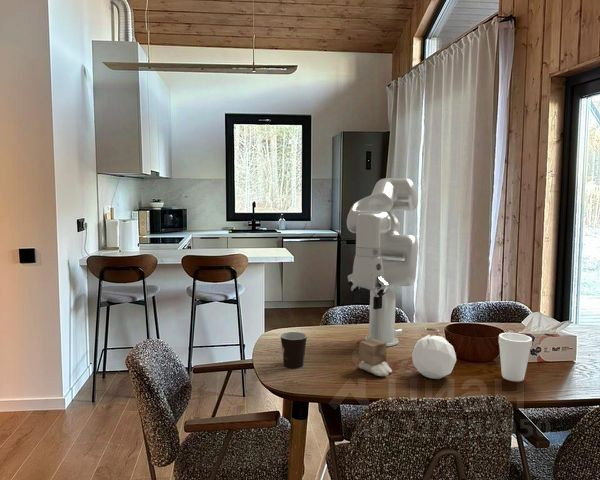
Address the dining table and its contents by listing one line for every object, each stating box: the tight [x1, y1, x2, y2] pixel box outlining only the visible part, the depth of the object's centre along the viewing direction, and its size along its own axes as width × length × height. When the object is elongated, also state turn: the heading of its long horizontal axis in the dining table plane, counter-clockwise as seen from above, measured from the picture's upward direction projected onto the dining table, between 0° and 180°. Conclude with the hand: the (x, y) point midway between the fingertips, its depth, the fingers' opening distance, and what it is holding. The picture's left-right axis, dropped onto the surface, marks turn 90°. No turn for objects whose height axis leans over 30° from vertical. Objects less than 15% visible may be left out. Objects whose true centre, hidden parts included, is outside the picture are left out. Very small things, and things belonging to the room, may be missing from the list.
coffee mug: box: [280, 331, 308, 370], centre depth 166 cm, size 12×9×10 cm
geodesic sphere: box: [411, 333, 457, 380], centre depth 155 cm, size 14×14×14 cm
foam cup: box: [497, 332, 533, 382], centre depth 155 cm, size 10×9×13 cm
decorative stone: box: [358, 361, 393, 377], centre depth 161 cm, size 11×4×15 cm
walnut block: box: [358, 338, 387, 365], centre depth 160 cm, size 6×6×6 cm
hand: (366, 305), depth 159 cm, fingers open, 9 cm apart
